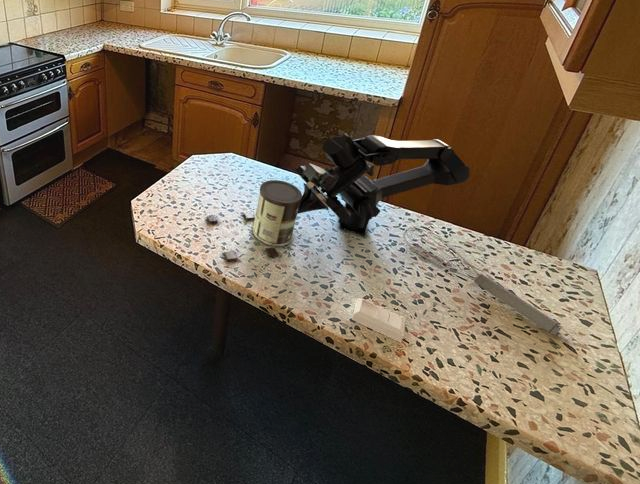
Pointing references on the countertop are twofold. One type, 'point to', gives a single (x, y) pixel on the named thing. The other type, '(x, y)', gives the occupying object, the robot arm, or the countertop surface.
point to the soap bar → (379, 319)
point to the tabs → (231, 255)
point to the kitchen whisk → (501, 293)
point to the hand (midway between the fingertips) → (295, 212)
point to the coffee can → (276, 212)
